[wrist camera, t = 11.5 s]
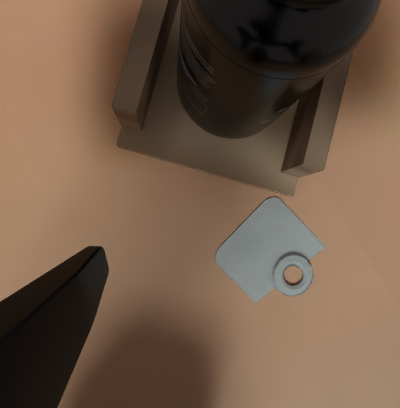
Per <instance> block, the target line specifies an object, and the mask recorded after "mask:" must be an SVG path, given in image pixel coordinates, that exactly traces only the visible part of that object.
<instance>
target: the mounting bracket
mask: <svg viewBox="0 0 400 408" xmlns="http://www.w3.org/2000/svg"><path fill="white" fill-rule="evenodd" d="M324 247H325V246H324V245H323V243H322V242H321V241H320V240H319V239H318V238H317V237H316V236H315V235H314V234H313V233H312V232H311V231H310V230H309V229H308V228H307V227H306V226H305V225H304V224H303V223H302V222H301V221H300V220H299V218H298V217H297V216H296V215H295V214H294V213H293V212H292V211H291V210H290V209H289V208H288V207H287V206H286V205H285V204H284V203H283V202H282V201H281V200H280V199H279V198H275V197H273V198H269V199H267V200H265V201H264V202H263V203H262V204H261V205H260V206H259V207H258V208H257V209H256V210H255V211H254V212H253V213H252V214H251V215H250V216H249V217H248V218H247V219H246V220H245V221H244V222H243V223H242V224H241V225H240V226H239V227H238V228H237V229H236V231H235V232H234V233H233V234H232V235H231V236H230V237H229V238H228V239H227V240H226V241H225V242H224V243H223V244H222V245H221V246H220V247H219V249H218V250H217V253H216V256H215V260H216V264H217V265H218V266H219V267H220V268H221V269H222V270H223V271H224V272H225V273H226V274H227V275H228V276H229V277H230V278H231V279H232V280H233V281H234V282H235V283H236V284H237V285H238V286H239V287H240V288H241V289H242V290H243V291H244V292H245V293H246V294H247V295H248V296H249V297H250V298H251V299H252V300H253V301H254V302H255V303H256V302H258V301H259V300H260V299H261V298H263V297H264V296H265V295H266V294H268V293H269V292H270V291H271V290H272V289H274V288H275V287H276V288H277V290H278V291H280V292H281V293H283V294H284V295H289V296H296V295H300V294H302V293H304V292H305V291H306V290H308V288H309V286H310V285H311V283H312V278H313V272H312V267H311V265H310V264H309V262H308V260H310V259H311V258H312V257H313V256H314V255H316V254H317V253H318V252H319V251H321V250H322V249H323V248H324ZM289 266H296V267H297V268H301V270H302V274H303V275H302V279H301V281H300V282H299V283H298V284H297V285H293V286H292V285H288V284H287V283H286V282H285V277H284V272H285V270H286V269H287V267H289Z"/></svg>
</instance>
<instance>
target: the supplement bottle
mask: <svg viewBox="0 0 400 408" xmlns="http://www.w3.org/2000/svg"><path fill="white" fill-rule="evenodd" d="M380 2H381V0H181V15H180V30H179V44H178V59H177V90H178V95H179V98H180V101H181V104H182V106H183V108H184V110H185V111H186V113H187V114H188V116H189V117H190V118H191V119H192V120H193V121H194V123H196V124H197V125H198V126H199V127H200V128H202V129H203V130H205V131H206V132H208V133H210V134H212V135H215V136H218V137H222V138H228V139H240V138H246V137H250V136H252V135H255V134H257V133H259V132H261V131H262V130H264V129H265V128H267V127H268V126H269V125H270V124H272V123H273V122H274V121H275V120H276V119H277V118H279V117H280V116H281V115H282V114H283V113H284V112H285V111H286V110H288V109H289V108H290V107H291V106H292V105H293V104H294V103H295V102H297V101H298V100H299V99H300V98H301V97H302V96H303V95H304V94H306V93H307V92H308V91H309V90H310V89H311V88H312V87H313V86H315V85H316V84H317V83H318V82H319V81H320V80H321V79H322V78H324V77H325V76H326V75H327V74H328V73H329V72H330V71H331V70H332V69H334V68H335V67H336V66H337V65H338V64H339V63H340V62H341V61H342V60H344V59H345V58H346V57H347V56H348V55H349V54H350V53H351V52H352V51H353V50H354V49H355V48H356V47H357V45H358V44H359V43H360V42H361V41H362V39H363V38H364V36H365V35H366V33H367V32H368V30H369V29H370V27H371V25H372V23H373V21H374V19H375V16H376V14H377V11H378V9H379V6H380Z"/></svg>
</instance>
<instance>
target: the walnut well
mask: <svg viewBox="0 0 400 408" xmlns="http://www.w3.org/2000/svg"><path fill="white" fill-rule="evenodd" d="M180 15H181V0H143V2H142V5H141V8H140V12H139V15H138V19H137V22H136V25H135V29H134V32H133V36H132V39H131V42H130V46H129V49H128V53H127V56H126V59H125V63H124V66H123V70H122V73H121V76H120V80H119V83H118V87H117V90H116V93H115V97H114V100H113V104H112V108H113V110H114V112H115V114H116V116H117V117H118V119H119V121H120V123H121V125H122V128H121V131H120V135H119V138H118V142H117V146H118V147H119V148H123V149H126V150H130V151H133V152H137V153H140V154H144V155H147V156H151V157H154V158H158V159H161V160H165V161H168V162H172V163H175V164H179V165H182V166H186V167H189V168H193V169H196V170H200V171H203V172H207V173H210V174H214V175H217V176H221V177H224V178H228V179H231V180H235V181H238V182H242V183H245V184H249V185H252V186H256V187H259V188H263V189H266V190H270V191H273V192H277V193H280V194H284V195H287V196H294V192H295V188H296V184H297V180H298V177H302V176H305V175H309V174H312V173H316V172H320V171H323V170H324V168H325V164H326V160H327V156H328V152H329V147H330V143H331V139H332V135H333V131H334V127H335V123H336V119H337V114H338V110H339V106H340V102H341V98H342V94H343V90H344V85H345V81H346V77H347V73H348V69H349V65H350V61H351V57H352V52H353V51H352V52H351V53H350V54H349V55H348V56H347V57H346V58H345V59H344V60H342V61H341V62H340V63H339V64H338V65H337V66H336V67H335V68H334V69H332V70H331V71H330V72H329V73H328V74H327V75H326V76H325V77H324V78H322V79H321V80H320V81H319V82H318V83H317V84H316V85H315V86H313V87H312V88H311V89H310V90H309V91H308V92H307V93H306V94H304V95H303V96H302V97H301V98H300V99H299V100H298V101H297V102H295V103H294V104H293V105H292V106H291V107H290V108H289V109H288V110H286V111H285V112H284V113H283V114H282V115H281V116H280V117H279V118H277V119H276V120H275V121H274V122H273V123H272V124H270V125H269V126H268V127H267V128H265V129H264V130H262V131H261V132H259V133H257V134H255V135H252V136H250V137H246V138H240V139H228V138H222V137H218V136H215V135H212V134H210V133H208V132H206V131H205V130H203V129H202V128H200V127H199V126H198V125H197V124H196V123H194V121H193V120H192V119H191V118H190V117H189V116H188V114H187V113H186V111H185V110H184V108H183V106H182V104H181V101H180V98H179V95H178V90H177V59H178V44H179V30H180Z"/></svg>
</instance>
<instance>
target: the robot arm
mask: <svg viewBox="0 0 400 408" xmlns="http://www.w3.org/2000/svg"><path fill="white" fill-rule="evenodd" d="M108 272H109V267H108V263H107V259H106V255H105V251H104V249H103V247H101V246H88V247H86V248H85V249H83V250H81V251H80V252H78V253H77V254H75V255H74V256H72V257H70V258H69V259H67V260H66V261H64V262H62V263H61V264H59V265H58V266H56V267H55V268H53V269H51V270H50V271H48V272H47V273H45V274H43V275H42V276H40V277H39V278H37V279H36V280H34V281H32V282H31V283H29V284H28V285H26V286H24V287H23V288H21V289H20V290H18V291H17V292H15V293H13V294H12V295H10V296H9V297H7V298H5V299H4V300H2V301H1V302H0V408H57V407H58V405H59V402H60V400H61V398H62V395H63V393H64V391H65V388H66V386H67V384H68V381H69V379H70V377H71V374H72V372H73V369H74V367H75V365H76V362H77V360H78V358H79V355H80V353H81V351H82V348H83V346H84V344H85V341H86V339H87V336H88V334H89V332H90V329H91V327H92V324H93V322H94V319H95V316H96V313H97V309H98V306H99V303H100V300H101V296H102V293H103V290H104V286H105V283H106V280H107V276H108Z"/></svg>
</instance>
